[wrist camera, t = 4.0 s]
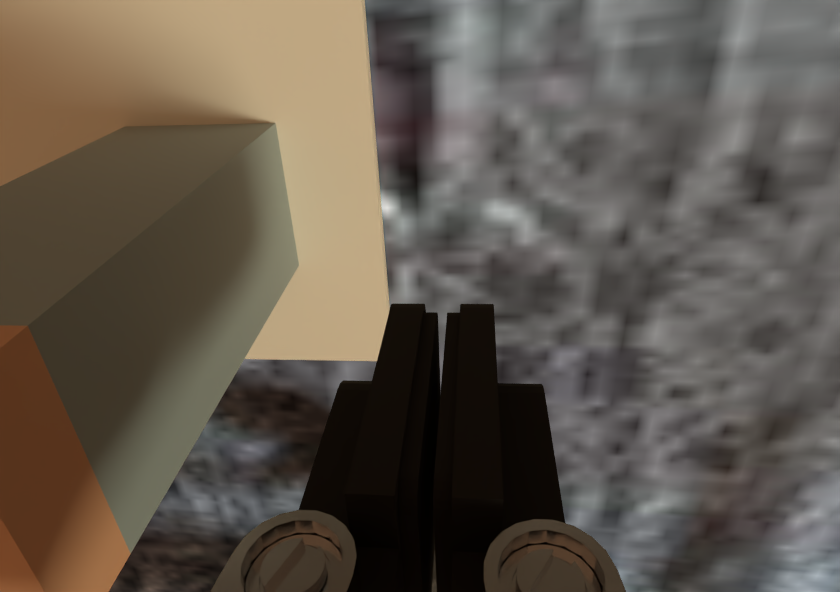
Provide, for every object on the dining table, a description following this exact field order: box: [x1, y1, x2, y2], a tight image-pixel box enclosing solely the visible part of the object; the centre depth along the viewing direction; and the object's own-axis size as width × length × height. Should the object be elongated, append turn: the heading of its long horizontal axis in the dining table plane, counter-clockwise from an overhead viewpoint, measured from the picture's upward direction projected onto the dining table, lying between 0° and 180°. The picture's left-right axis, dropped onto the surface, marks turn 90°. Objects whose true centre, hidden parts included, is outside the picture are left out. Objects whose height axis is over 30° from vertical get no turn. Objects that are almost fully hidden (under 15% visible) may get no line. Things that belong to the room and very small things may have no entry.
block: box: [0, 123, 299, 592], centre depth 13 cm, size 4×4×12 cm
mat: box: [0, 0, 390, 361], centre depth 19 cm, size 12×23×1 cm, turn 92°
